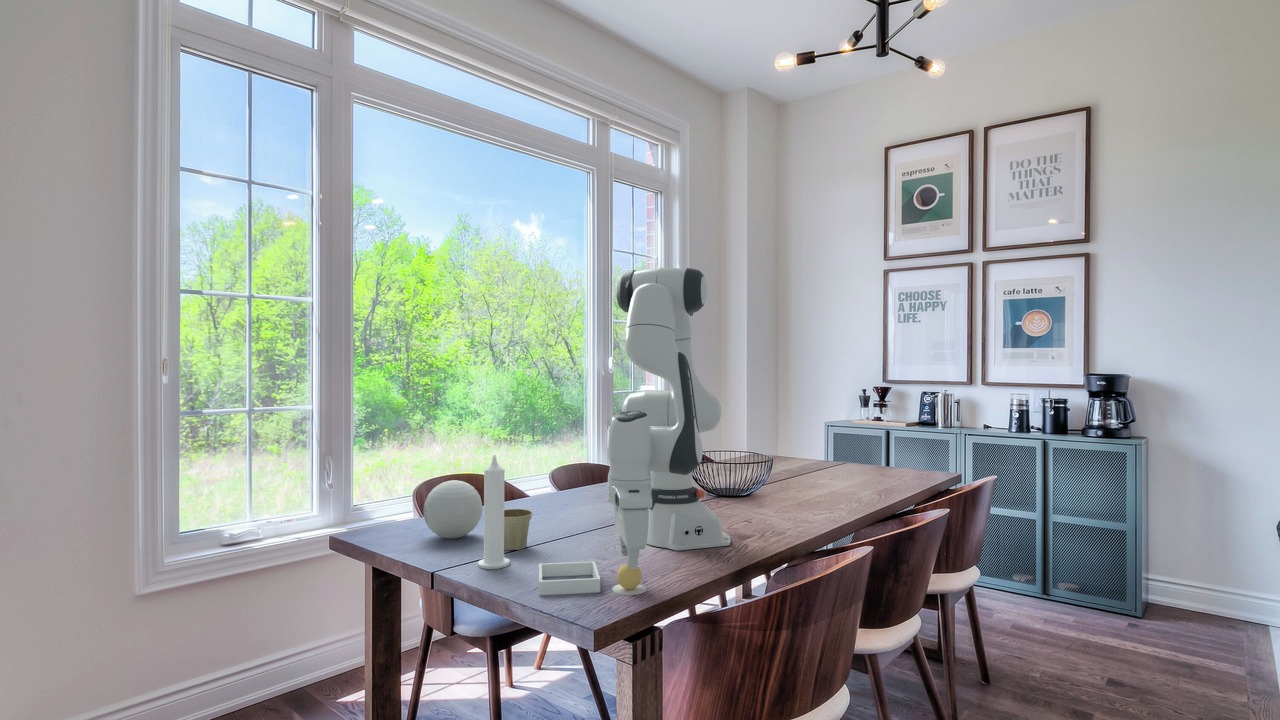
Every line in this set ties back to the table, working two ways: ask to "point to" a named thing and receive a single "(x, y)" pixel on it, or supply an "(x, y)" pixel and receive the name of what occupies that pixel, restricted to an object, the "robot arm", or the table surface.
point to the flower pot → (516, 528)
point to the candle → (494, 518)
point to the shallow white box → (569, 584)
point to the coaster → (629, 590)
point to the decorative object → (452, 509)
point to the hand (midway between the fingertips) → (629, 561)
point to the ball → (629, 577)
